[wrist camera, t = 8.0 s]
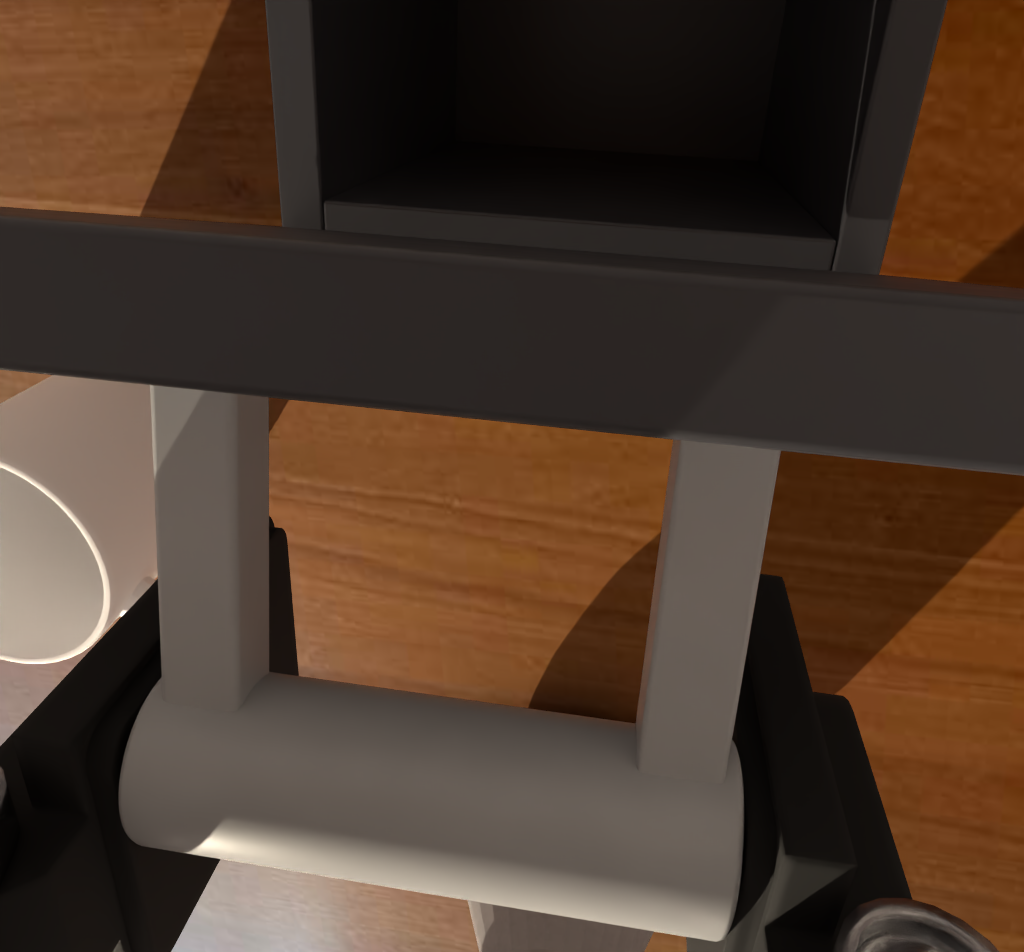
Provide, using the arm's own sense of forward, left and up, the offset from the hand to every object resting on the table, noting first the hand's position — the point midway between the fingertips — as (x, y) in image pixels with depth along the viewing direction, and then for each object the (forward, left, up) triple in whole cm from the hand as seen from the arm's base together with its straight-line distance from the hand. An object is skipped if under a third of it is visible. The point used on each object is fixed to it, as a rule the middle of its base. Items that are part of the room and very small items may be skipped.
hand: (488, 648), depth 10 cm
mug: (+19, +2, -23) cm, 30 cm away
